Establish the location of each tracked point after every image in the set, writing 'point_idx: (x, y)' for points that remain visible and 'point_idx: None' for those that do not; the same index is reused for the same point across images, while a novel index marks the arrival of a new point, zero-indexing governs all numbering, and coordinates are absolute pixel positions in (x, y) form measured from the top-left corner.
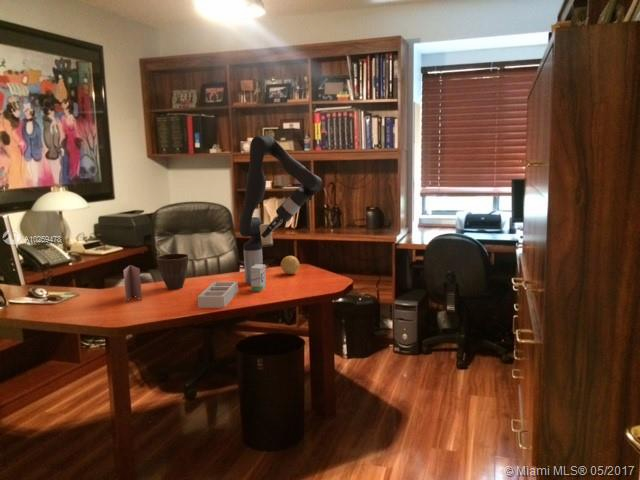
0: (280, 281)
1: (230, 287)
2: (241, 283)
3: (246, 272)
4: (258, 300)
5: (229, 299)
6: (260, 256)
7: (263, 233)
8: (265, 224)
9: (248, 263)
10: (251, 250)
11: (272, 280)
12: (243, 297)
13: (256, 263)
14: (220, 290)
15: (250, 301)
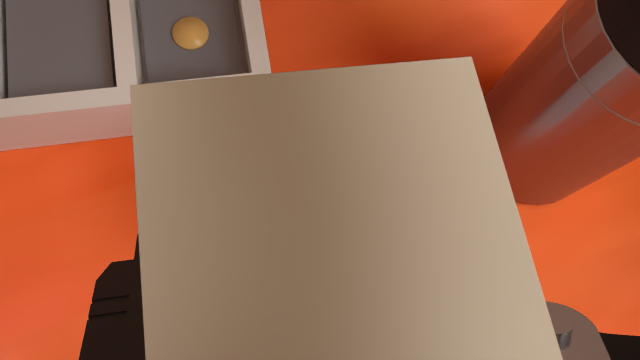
0: (603, 322)
1: (94, 96)
2: (483, 69)
3: (505, 72)
4: (61, 341)
5: (19, 143)
6: (635, 128)
7: (136, 284)
8: (346, 250)
9: (531, 57)
10: (604, 23)
11: (613, 251)
12: (135, 203)
13: (555, 124)
14: (83, 40)
15: (32, 290)
